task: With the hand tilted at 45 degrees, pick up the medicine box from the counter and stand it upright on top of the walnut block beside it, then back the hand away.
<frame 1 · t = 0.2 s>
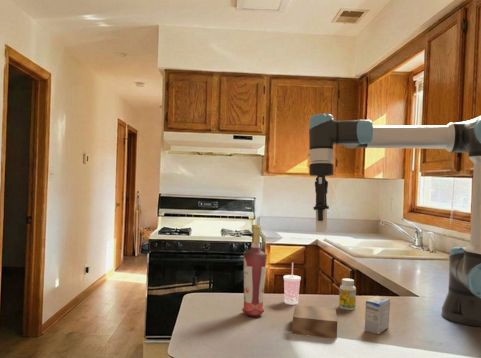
hand: (321, 230, 128), 27 cm above the countertop, tool pointing down, fingers open, 13 cm apart
supplement bottle: (347, 308, 139), on the countertop
walnut block: (314, 329, 117), on the countertop
liquor: (252, 315, 127), on the countertop
beverage cup: (291, 303, 142), on the countertop
medicine box: (376, 329, 119), on the countertop
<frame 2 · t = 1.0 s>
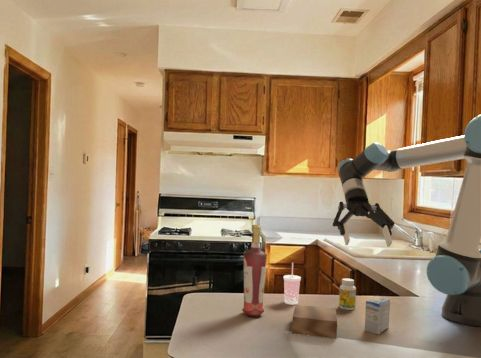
hand: (368, 243, 129), 24 cm above the countertop, tool tilted 45°, fingers open, 13 cm apart
nothing on the countertop moved.
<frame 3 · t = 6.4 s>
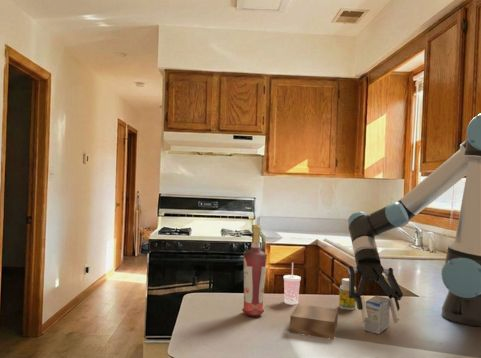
hand: (381, 320, 115), 4 cm above the countertop, tool tilted 45°, fingers closed on medicine box, 8 cm apart
medicine box: (376, 329, 119), on the countertop, touching gripper
everything else where it was.
when the fingers open (10 cm above the countertop, at t = 11.8 s): medicine box drops 2 cm, resting on walnut block.
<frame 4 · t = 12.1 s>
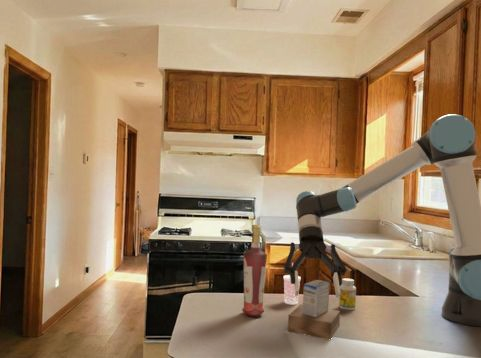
hand: (317, 294, 114), 11 cm above the countertop, tool tilted 45°, fingers open, 11 cm apart
walnut block: (314, 330, 117), on the countertop, touching medicine box
medicine box: (315, 313, 117), point 4 cm above the countertop, touching walnut block
everything else where it was.
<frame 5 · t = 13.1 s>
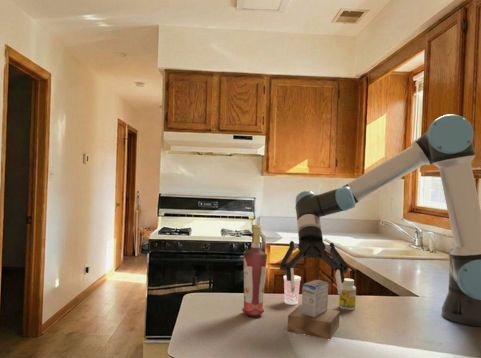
hand: (316, 291, 116), 11 cm above the countertop, tool tilted 45°, fingers open, 13 cm apart
nothing on the countertop moved.
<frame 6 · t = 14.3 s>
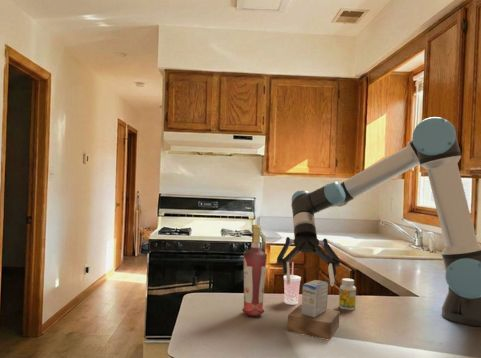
hand: (310, 283, 125), 11 cm above the countertop, tool tilted 45°, fingers open, 13 cm apart
nothing on the countertop moved.
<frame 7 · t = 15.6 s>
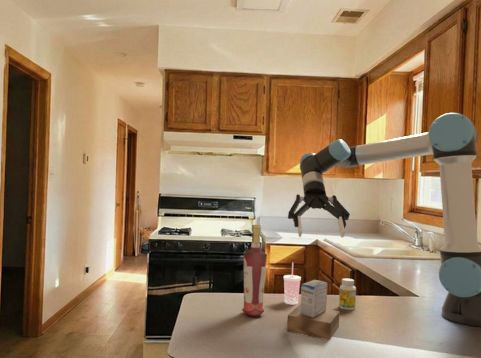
hand: (321, 234, 129), 26 cm above the countertop, tool tilted 45°, fingers open, 13 cm apart
nothing on the countertop moved.
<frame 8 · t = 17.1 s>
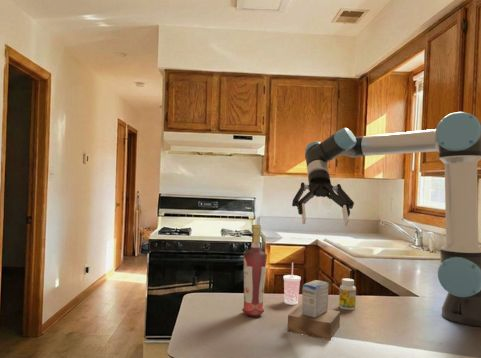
hand: (325, 222, 129), 30 cm above the countertop, tool tilted 45°, fingers open, 13 cm apart
nothing on the countertop moved.
at the end: medicine box inside the target area on the walnut block (0.1 cm from its centre), point 4.8 cm above the walnut block's base; medicine box tilted 0°; the gripper is holding nothing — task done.
